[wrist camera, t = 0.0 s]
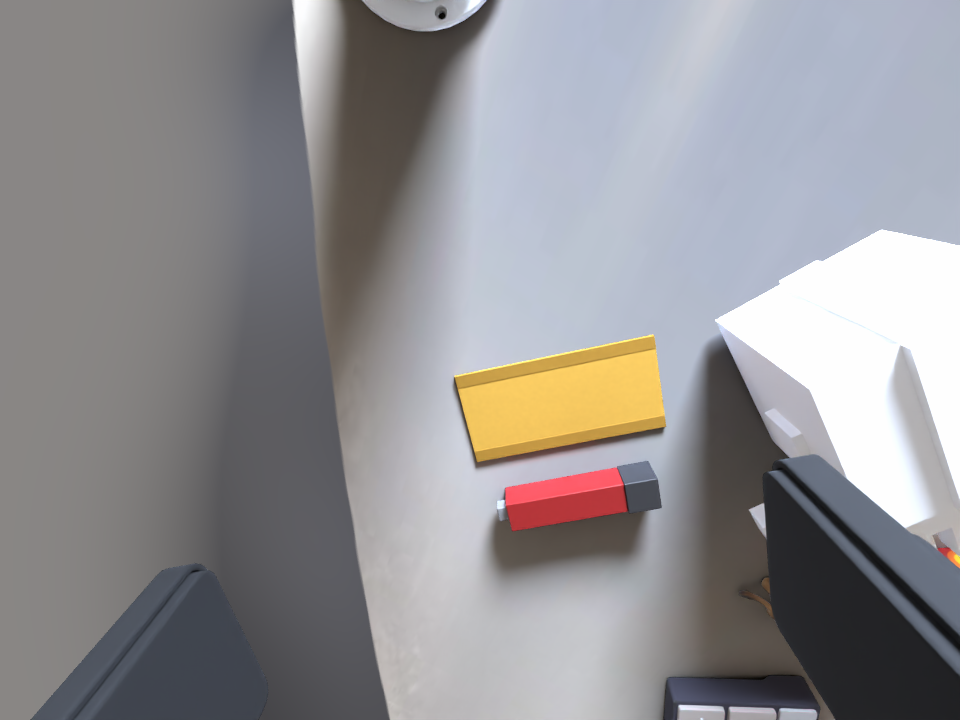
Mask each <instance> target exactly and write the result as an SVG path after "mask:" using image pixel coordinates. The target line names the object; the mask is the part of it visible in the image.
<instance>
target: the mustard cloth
mask: <svg viewBox="0 0 960 720" xmlns="http://www.w3.org/2000/svg"><path fill="white" fill-rule="evenodd" d="M455 381H456V385H457V388H458V392H459V396H460V399H461V403H462V407H463V411H464V415H465V418H466V422H467V426H468V430H469V433H470V437H471V441H472V445H473V448H474V452H475V456H476V460H477V462H481V461H486V460H491V459H497V458H502V457H507V456H513V455H518V454H523V453H529V452H534V451H539V450H544V449H550V448H555V447H560V446H566V445H571V444H576V443H582V442H587V441H592V440H598V439H603V438H608V437H614V436H619V435H624V434H629V433H635V432H640V431H645V430H651V429H656V428H661V427H666V422H665V415H664V408H663V400H662V392H661V384H660V377H659V369H658V361H657V354H656V345H655V338H654V335H649V336H644V337H639V338H635V339H630V340H625V341H620V342H615V343H611V344H606V345H601V346H596V347H591V348H587V349H582V350H577V351H572V352H567V353H562V354H558V355H553V356H548V357H543V358H538V359H534V360H529V361H524V362H519V363H514V364H509V365H505V366H500V367H495V368H490V369H485V370H481V371H476V372H471V373H466V374H461V375H456V376H455Z"/></svg>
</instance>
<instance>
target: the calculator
mask: <svg viewBox="0 0 960 720" xmlns="http://www.w3.org/2000/svg"><path fill="white" fill-rule="evenodd" d="M819 713H820V706H819V704H818V702H817V700H816V699H815V697H814V695H813V693H812V692H811V690H810V688H809V686H808V684H807V683H806V681H805V679H804V678H803V677H801V676H772V675H770V676H768V677H767V678H765V679H764V680H745V679H713V678H681V677H669V678H668V679H667V683H666V696H665V710H664V720H818V718H819Z"/></svg>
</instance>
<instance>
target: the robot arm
mask: <svg viewBox="0 0 960 720" xmlns="http://www.w3.org/2000/svg"><path fill="white" fill-rule="evenodd" d="M362 1H363V2H364V3H365V4H366V5H367V6H368V7H369V8H370V9H371V10H372V11H373V12H374V13H376V14H377V15H379V16H380V17H381V18H383V19H384V20H385V21H387V22H390V23H392V24H394V25H396V26H398V27H401V28H405V29H409V30H414V31H436V30H441V29H445V28H449V27H451V26H454V25H456V24H458V23H460V22H462V21H464V20H466V19H467V18H468V17H470V16H471V15H472V14H474V13H475V12H476V11H478V10H479V9H480V7H481V6H482V5H483V4H484V3H485V2H486V1H487V0H362ZM440 13H445V15H446V16H445V18H444V19H440V18H439V15H440ZM763 493H764V509H765V524H766V539H767V554H768V569H769V584H770V599H771V609H772V612H773V616H774V619H775V621H776V624H777V626H778V628H779V630H780V632H781V633H782V635H783V636H784V638H785V640H786V641H787V643H788V644H789V646H790V648H791V649H792V651H793V652H794V654H795V656H796V657H797V659H798V660H799V662H800V664H801V665H802V667H803V668H804V670H805V671H806V673H807V675H808V676H809V678H810V679H811V681H812V683H813V684H814V686H815V687H816V689H817V691H818V692H819V694H820V695H821V697H822V699H823V700H824V702H825V703H826V705H827V706H828V708H829V710H830V711H831V713H832V714H833V716H834V718H835V719H836V720H960V568H959V567H957V566H956V565H955V564H954V563H953V562H951V561H950V560H949V559H948V558H947V557H945V556H944V555H943V554H942V553H941V552H939V551H938V550H937V549H936V548H935V547H933V546H932V545H931V544H930V543H928V542H927V541H925V540H924V539H922V538H921V537H919V536H918V535H915V534H911V533H910V532H909V531H908V530H907V529H905V528H904V527H903V526H902V525H901V524H900V523H898V522H897V521H896V520H895V519H894V518H892V517H891V516H890V515H889V514H888V513H887V512H885V511H884V510H883V509H882V508H881V507H880V506H878V505H877V504H876V503H875V502H874V501H872V500H871V499H870V498H869V497H868V496H867V495H865V494H864V493H863V492H862V491H861V490H859V489H858V488H857V487H856V486H855V485H854V484H852V483H851V482H850V481H849V480H848V479H846V478H845V477H844V476H843V475H842V474H841V473H839V472H838V471H837V470H836V469H835V468H834V467H832V466H831V465H830V464H829V463H828V462H826V461H825V460H824V459H823V458H822V457H820V456H818V455H816V454H811V455H805V456H799V457H794V458H788V459H782V460H777V461H775V462H774V464H773V467H772V471H770V472H766V473H764V475H763ZM267 697H268V683H267V680H266V678H265V676H264V673H263V672H262V669H261V667H260V665H259V663H258V661H257V659H256V657H255V655H254V653H253V651H252V649H251V647H250V645H249V643H248V641H247V639H246V637H245V635H244V633H243V631H242V629H241V627H240V625H239V622H238V621H237V618H236V616H235V614H234V613H233V610H232V608H231V606H230V604H229V602H228V600H227V598H226V596H225V594H224V592H223V590H222V588H221V586H220V584H219V582H218V580H217V577H216V576H215V574H214V573H213V572H211V571H209V570H207V569H206V568H205V567H204V566H203V565H201V564H196V563H195V564H190V565H184V566H179V567H173V568H168V569H165V570H162V571H161V572H160V573H159V574H158V575H157V576H156V577H155V578H154V579H153V580H152V581H151V583H150V584H149V585H148V586H147V587H146V589H144V591H143V592H142V593H141V594H140V595H139V596H138V597H137V599H136V600H135V601H134V602H133V603H132V604H131V605H130V607H129V608H128V609H127V610H126V611H125V613H123V615H122V616H121V617H120V618H119V619H118V620H117V621H116V623H115V624H114V625H113V626H112V627H111V628H110V630H109V631H108V632H107V633H106V634H105V635H104V637H103V638H102V639H101V640H100V641H99V642H98V643H97V645H95V647H94V648H93V649H92V650H91V651H90V652H89V654H88V655H87V656H86V657H85V658H84V660H82V662H81V663H80V664H79V665H78V666H77V667H76V668H75V670H74V671H73V672H72V673H71V674H70V675H69V676H68V678H67V679H66V680H65V681H64V682H63V683H62V685H61V686H60V687H59V688H58V689H57V690H56V691H55V692H54V694H53V695H52V696H51V697H50V698H49V699H48V700H47V702H46V703H45V704H44V705H43V706H42V707H41V708H40V710H39V711H38V712H37V713H36V714H35V715H34V717H33V718H32V719H31V720H259V718H260V716H261V714H262V711H263V709H264V707H265V704H266V701H267Z"/></svg>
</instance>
